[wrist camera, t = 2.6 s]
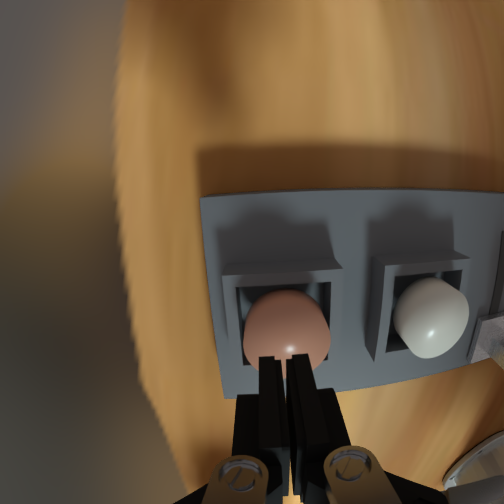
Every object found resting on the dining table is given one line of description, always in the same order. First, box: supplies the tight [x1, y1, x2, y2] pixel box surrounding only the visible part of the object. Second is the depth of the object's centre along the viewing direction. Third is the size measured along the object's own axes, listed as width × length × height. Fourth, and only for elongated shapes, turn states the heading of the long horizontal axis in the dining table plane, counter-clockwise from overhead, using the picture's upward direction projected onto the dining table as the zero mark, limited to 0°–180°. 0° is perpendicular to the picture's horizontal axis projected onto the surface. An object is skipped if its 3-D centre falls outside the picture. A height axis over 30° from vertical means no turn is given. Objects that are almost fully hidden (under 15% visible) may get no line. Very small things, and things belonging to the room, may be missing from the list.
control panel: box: [200, 188, 504, 399], centre depth 17 cm, size 24×13×4 cm, turn 94°
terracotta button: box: [243, 288, 331, 379], centre depth 14 cm, size 4×4×2 cm
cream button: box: [393, 276, 469, 358], centre depth 14 cm, size 4×4×2 cm
